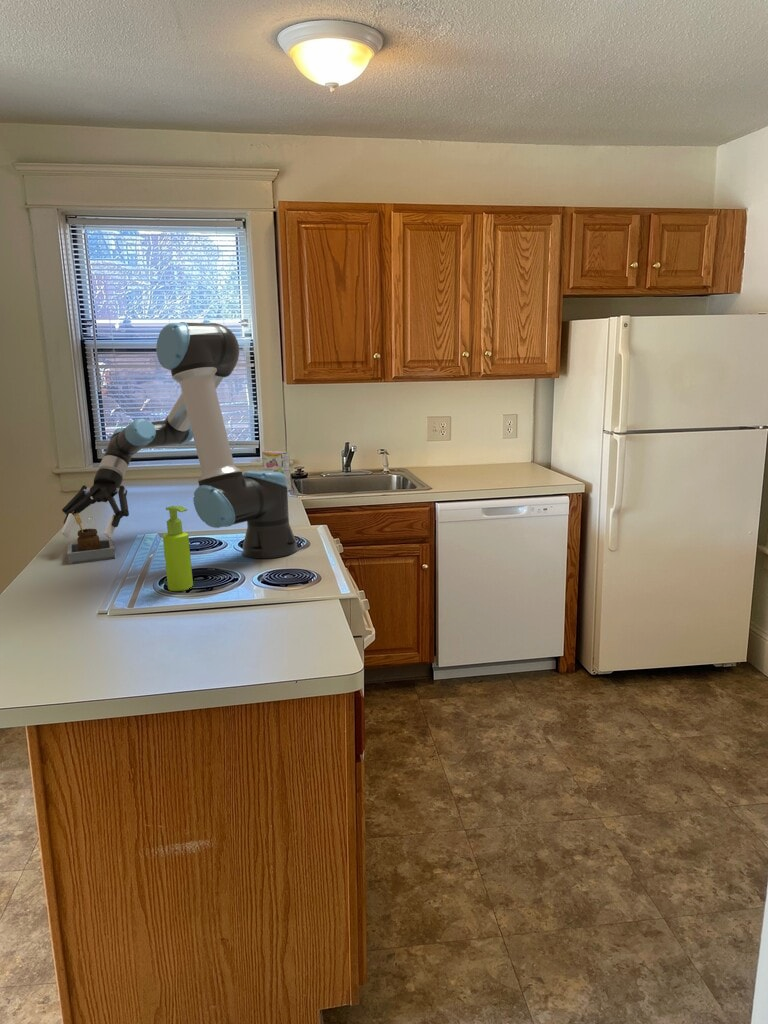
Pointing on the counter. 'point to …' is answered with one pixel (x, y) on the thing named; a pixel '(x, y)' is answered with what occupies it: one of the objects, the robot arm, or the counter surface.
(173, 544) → the soap dispenser
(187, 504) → the counter surface
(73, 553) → the tray
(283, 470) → the candy bar box
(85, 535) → the utensil holder
